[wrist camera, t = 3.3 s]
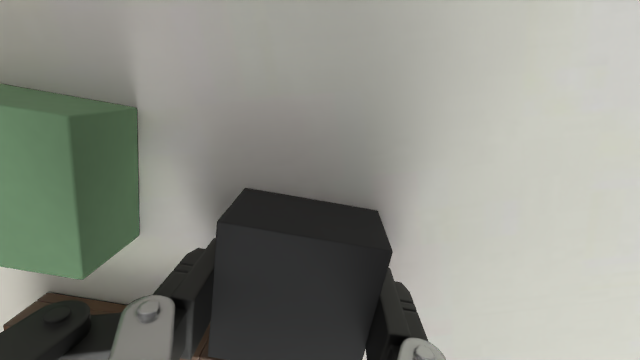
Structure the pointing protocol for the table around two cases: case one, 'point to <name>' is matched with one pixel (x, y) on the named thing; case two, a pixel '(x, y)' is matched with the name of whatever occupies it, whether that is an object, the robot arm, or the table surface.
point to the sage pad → (65, 181)
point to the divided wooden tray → (101, 307)
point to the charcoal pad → (295, 279)
